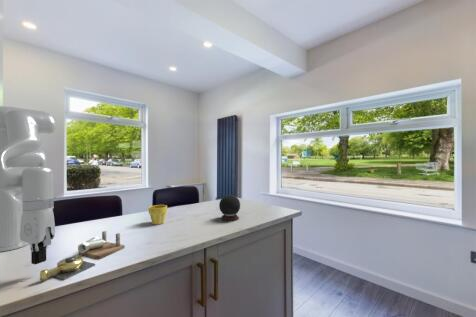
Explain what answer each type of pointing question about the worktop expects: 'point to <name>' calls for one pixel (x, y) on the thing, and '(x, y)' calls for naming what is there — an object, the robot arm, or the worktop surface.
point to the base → (68, 274)
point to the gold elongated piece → (63, 267)
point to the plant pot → (158, 214)
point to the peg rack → (104, 248)
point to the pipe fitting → (91, 244)
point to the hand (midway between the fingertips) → (39, 262)
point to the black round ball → (229, 208)
